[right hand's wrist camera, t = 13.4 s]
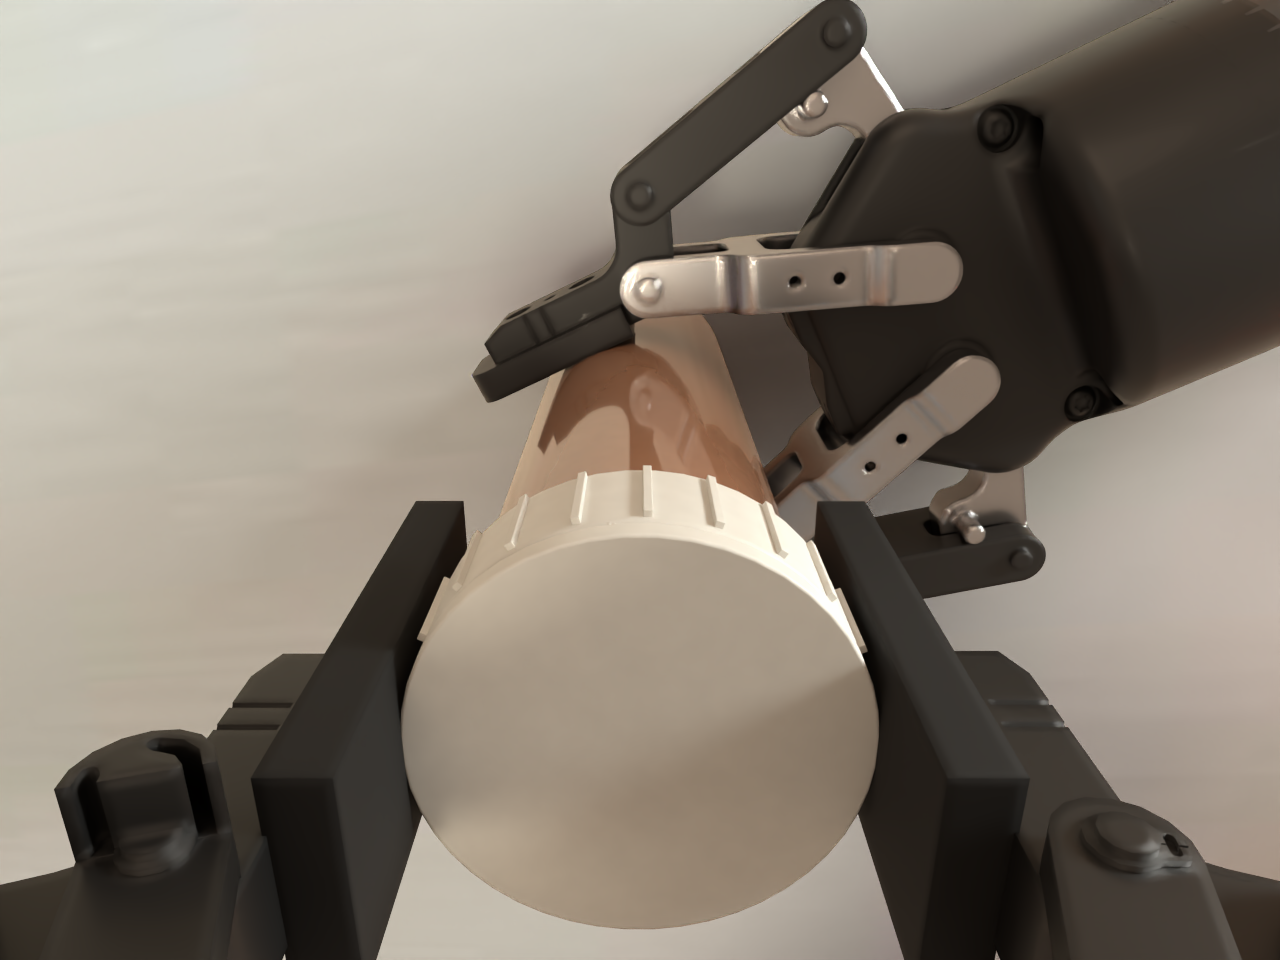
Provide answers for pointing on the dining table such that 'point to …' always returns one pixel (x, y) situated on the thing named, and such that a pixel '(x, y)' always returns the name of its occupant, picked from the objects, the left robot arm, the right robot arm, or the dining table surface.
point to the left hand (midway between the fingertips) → (543, 482)
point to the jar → (644, 415)
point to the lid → (639, 703)
